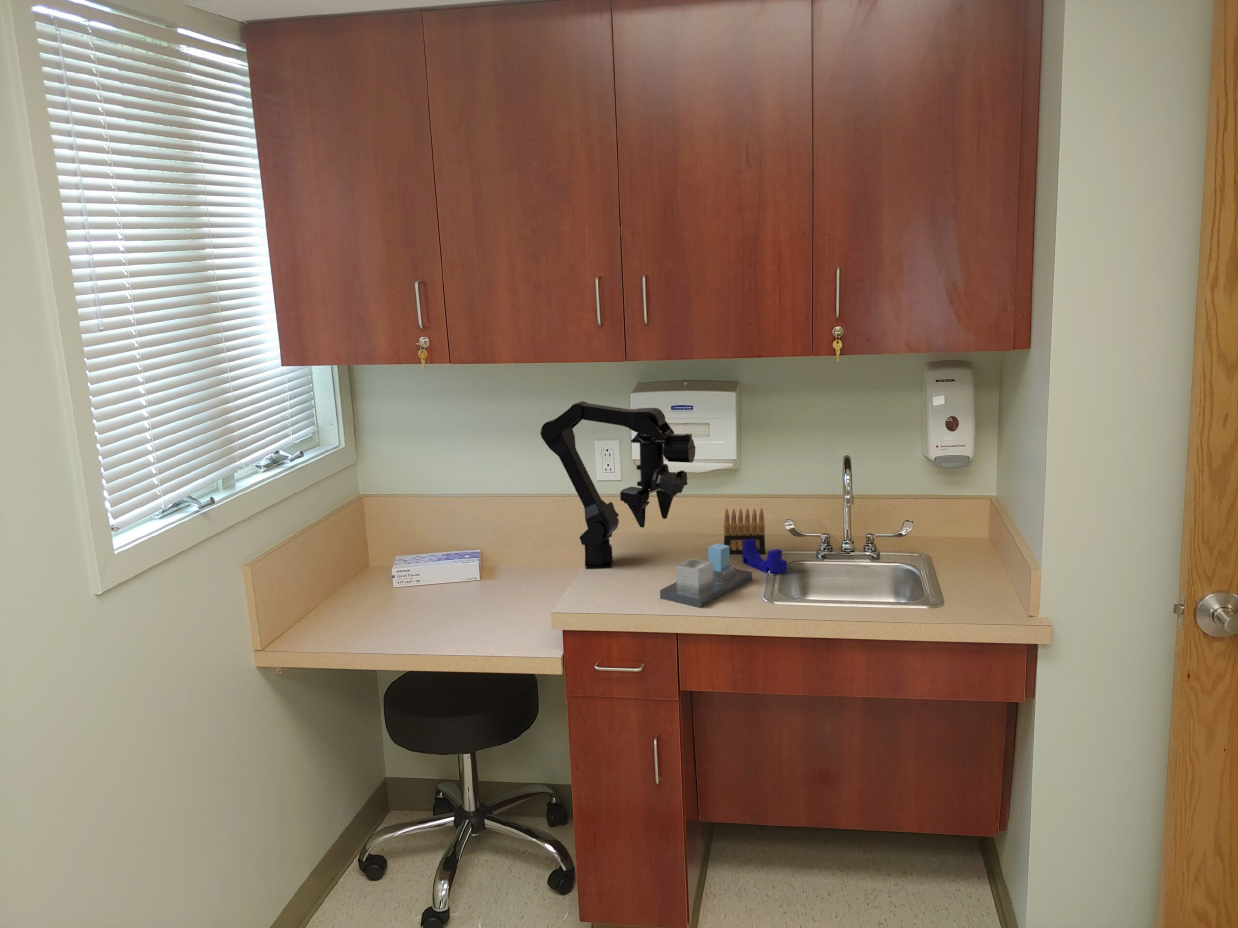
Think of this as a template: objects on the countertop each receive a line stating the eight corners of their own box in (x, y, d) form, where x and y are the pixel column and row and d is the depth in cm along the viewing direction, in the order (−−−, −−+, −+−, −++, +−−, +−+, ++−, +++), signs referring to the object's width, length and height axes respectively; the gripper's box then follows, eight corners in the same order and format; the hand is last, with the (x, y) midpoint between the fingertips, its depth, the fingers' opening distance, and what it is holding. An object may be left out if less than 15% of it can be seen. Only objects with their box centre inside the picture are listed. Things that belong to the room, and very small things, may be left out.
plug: (721, 578, 229) (720, 549, 227) (708, 575, 231) (707, 547, 229) (729, 574, 231) (729, 545, 230) (716, 571, 234) (716, 543, 232)
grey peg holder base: (700, 607, 216) (700, 575, 214) (660, 598, 223) (659, 566, 221) (752, 579, 233) (751, 549, 231) (713, 571, 240) (712, 542, 238)
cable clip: (786, 572, 238) (786, 549, 236) (771, 576, 236) (771, 552, 234) (757, 560, 248) (757, 537, 247) (742, 563, 246) (742, 540, 245)
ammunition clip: (723, 554, 253) (723, 509, 250) (723, 552, 255) (722, 507, 252) (765, 554, 252) (765, 509, 250) (764, 552, 254) (764, 507, 251)
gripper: (655, 471, 225) (657, 537, 228) (701, 457, 239) (702, 518, 242) (617, 466, 232) (619, 530, 235) (664, 452, 246) (665, 512, 249)
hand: (653, 522), depth 240 cm, fingers open, 9 cm apart
